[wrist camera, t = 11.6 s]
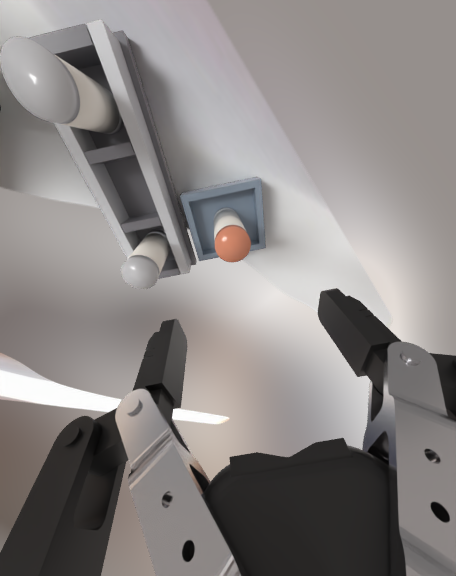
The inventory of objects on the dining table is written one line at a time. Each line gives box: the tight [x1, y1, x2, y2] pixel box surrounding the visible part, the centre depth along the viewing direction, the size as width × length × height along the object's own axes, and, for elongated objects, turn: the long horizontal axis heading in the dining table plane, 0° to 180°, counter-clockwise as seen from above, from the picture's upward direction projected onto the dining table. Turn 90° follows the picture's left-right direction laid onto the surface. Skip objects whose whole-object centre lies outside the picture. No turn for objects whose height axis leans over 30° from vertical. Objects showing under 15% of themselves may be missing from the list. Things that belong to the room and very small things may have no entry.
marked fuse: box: [213, 207, 251, 262], centre depth 22 cm, size 4×4×9 cm
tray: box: [180, 177, 266, 261], centre depth 26 cm, size 10×9×3 cm
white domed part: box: [0, 36, 124, 135], centre depth 15 cm, size 4×4×9 cm
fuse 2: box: [121, 230, 171, 289], centre depth 23 cm, size 4×4×9 cm
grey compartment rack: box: [28, 19, 196, 279], centre depth 22 cm, size 8×23×4 cm, turn 10°
